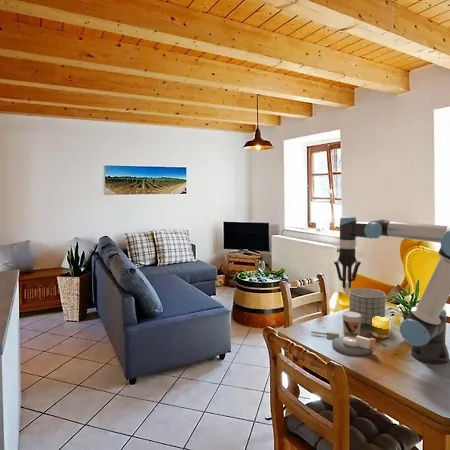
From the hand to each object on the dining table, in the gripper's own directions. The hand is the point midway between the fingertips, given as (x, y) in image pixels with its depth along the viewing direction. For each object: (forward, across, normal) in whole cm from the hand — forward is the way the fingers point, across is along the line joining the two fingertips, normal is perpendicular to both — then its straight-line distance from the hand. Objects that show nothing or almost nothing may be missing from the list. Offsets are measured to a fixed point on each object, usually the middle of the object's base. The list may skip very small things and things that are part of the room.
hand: (346, 294), depth 178 cm
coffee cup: (+25, -4, -6) cm, 26 cm away
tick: (+23, -6, +14) cm, 28 cm away
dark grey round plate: (+24, -1, +7) cm, 25 cm away
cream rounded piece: (+22, -4, +9) cm, 25 cm away
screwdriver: (+25, +8, -5) cm, 26 cm away
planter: (+25, -17, -25) cm, 39 cm away
